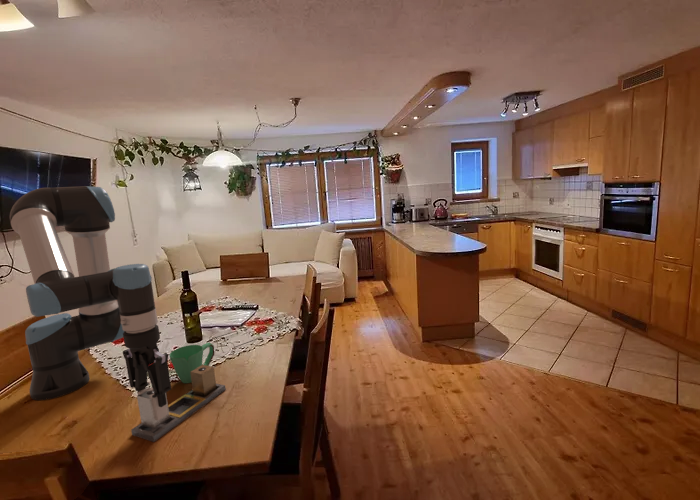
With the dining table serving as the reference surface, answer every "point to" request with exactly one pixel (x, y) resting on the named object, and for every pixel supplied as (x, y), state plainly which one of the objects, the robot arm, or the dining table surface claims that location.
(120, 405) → the dining table surface
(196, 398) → the grey slotted tray
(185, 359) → the mug
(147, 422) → the white rectangular block
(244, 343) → the eyeglasses
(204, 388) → the brown rectangular block
